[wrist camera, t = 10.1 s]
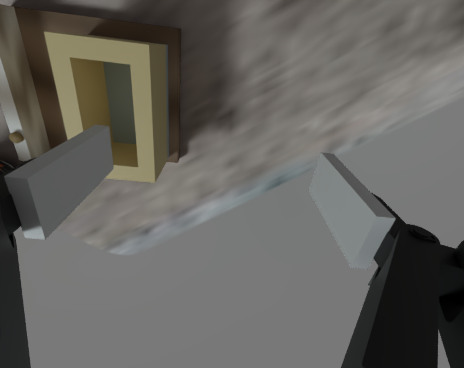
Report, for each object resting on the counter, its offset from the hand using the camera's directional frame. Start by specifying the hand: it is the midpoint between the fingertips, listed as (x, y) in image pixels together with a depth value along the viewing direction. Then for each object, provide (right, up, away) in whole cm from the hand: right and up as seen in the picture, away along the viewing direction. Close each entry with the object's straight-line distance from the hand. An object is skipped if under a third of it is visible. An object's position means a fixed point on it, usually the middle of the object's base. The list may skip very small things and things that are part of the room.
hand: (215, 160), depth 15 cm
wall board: (-12, +8, +10) cm, 18 cm away
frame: (-9, +7, +10) cm, 15 cm away
